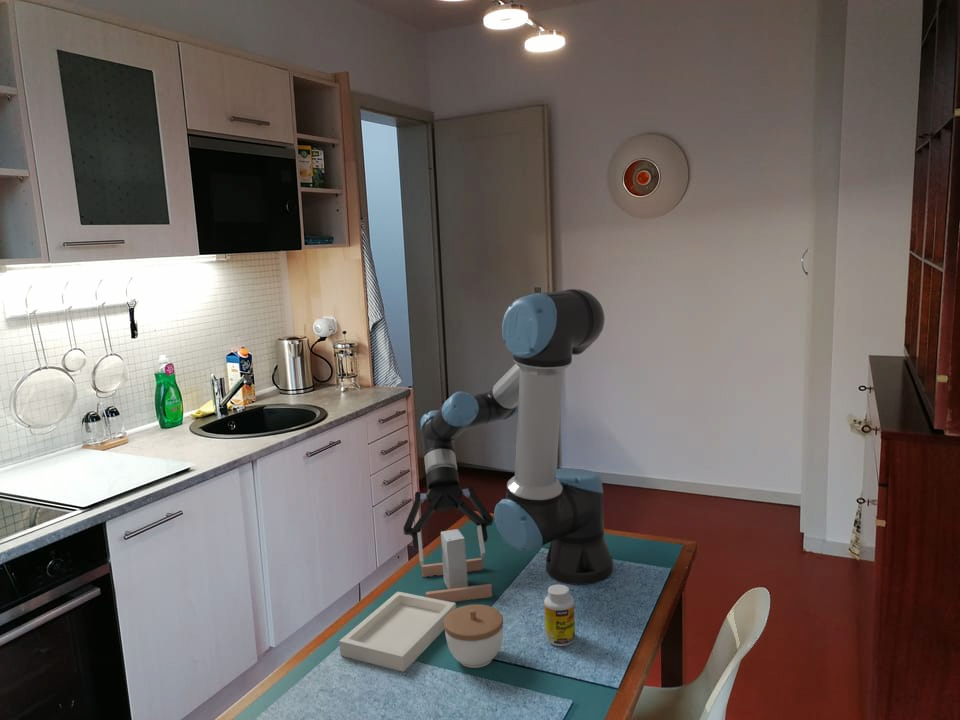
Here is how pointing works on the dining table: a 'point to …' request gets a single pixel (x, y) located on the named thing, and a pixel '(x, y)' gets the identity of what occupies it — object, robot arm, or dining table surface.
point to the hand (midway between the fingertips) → (452, 559)
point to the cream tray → (397, 631)
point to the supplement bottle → (559, 616)
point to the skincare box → (454, 559)
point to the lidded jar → (474, 634)
